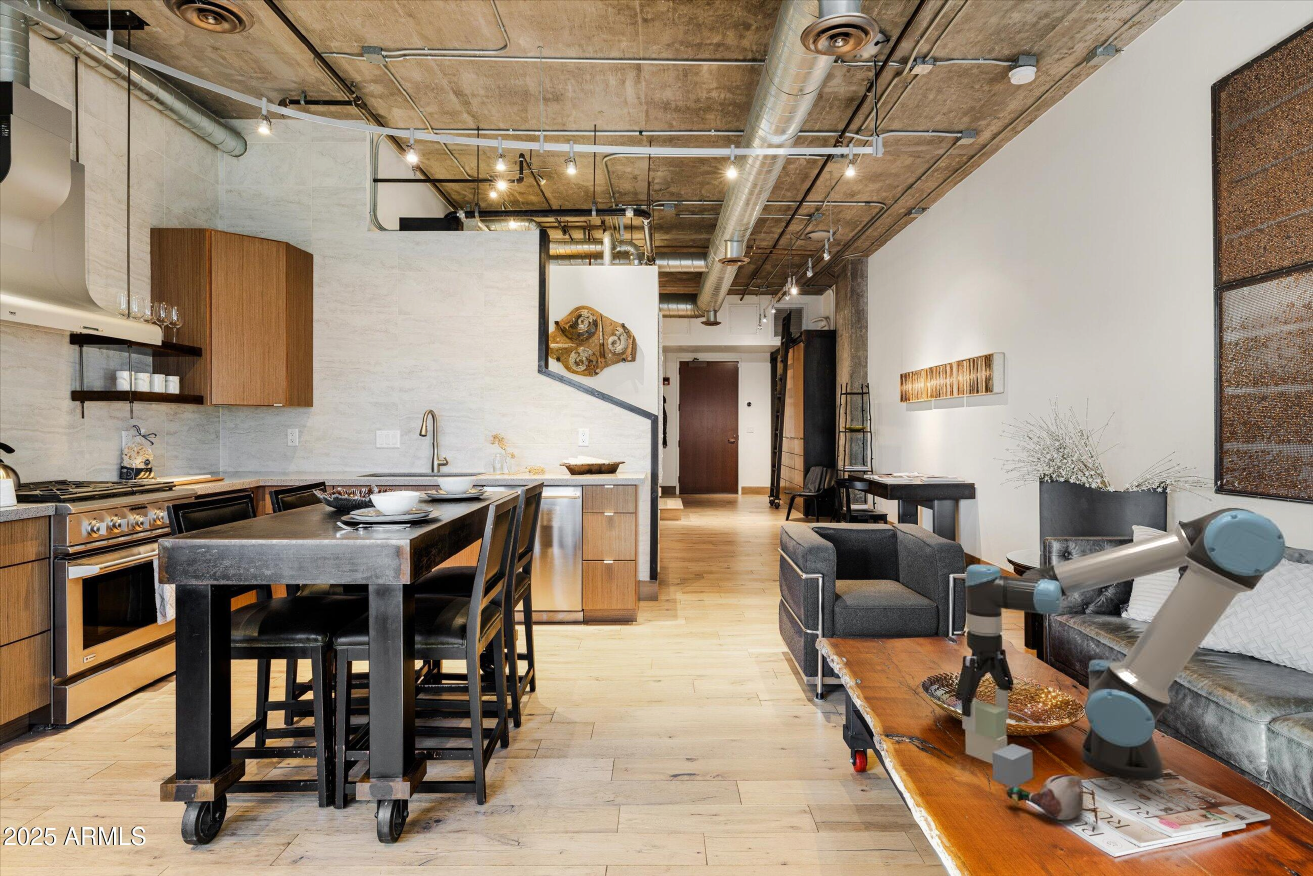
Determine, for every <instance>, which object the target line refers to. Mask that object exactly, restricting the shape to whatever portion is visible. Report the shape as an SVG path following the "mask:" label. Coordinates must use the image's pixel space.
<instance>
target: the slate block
mask: <svg viewBox="0 0 1313 876" xmlns="http://www.w3.org/2000/svg"><path fill="white" fill-rule="evenodd" d="M992 753H993V764H992V780H993V781H995V782H997V783H999V784H1002V785H1005V786H1006V787H1009V788H1013V787H1018V786H1021V785H1022V784H1025V783H1026V782H1028V781H1030V780H1032V779H1034V769H1033V768H1034V764H1033V763H1034V762H1033V761H1034V760H1033V750H1032V749H1028V748H1026V747H1023V746H1020V745H1017V744H1015V743H1011V744H1009V745H1008V744H1007V746H1006V747H1004V748H1002V749H999V750H997V751H995V752H992Z"/></svg>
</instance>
